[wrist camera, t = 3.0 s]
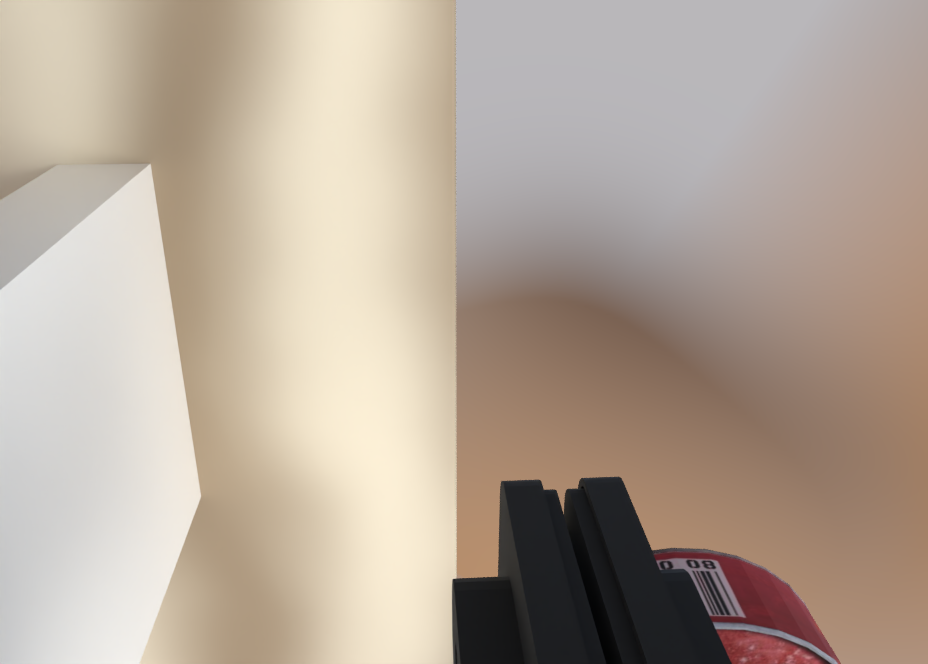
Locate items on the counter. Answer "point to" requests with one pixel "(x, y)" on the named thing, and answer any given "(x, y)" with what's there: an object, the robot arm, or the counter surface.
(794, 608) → the canned food
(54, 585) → the block
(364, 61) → the board
